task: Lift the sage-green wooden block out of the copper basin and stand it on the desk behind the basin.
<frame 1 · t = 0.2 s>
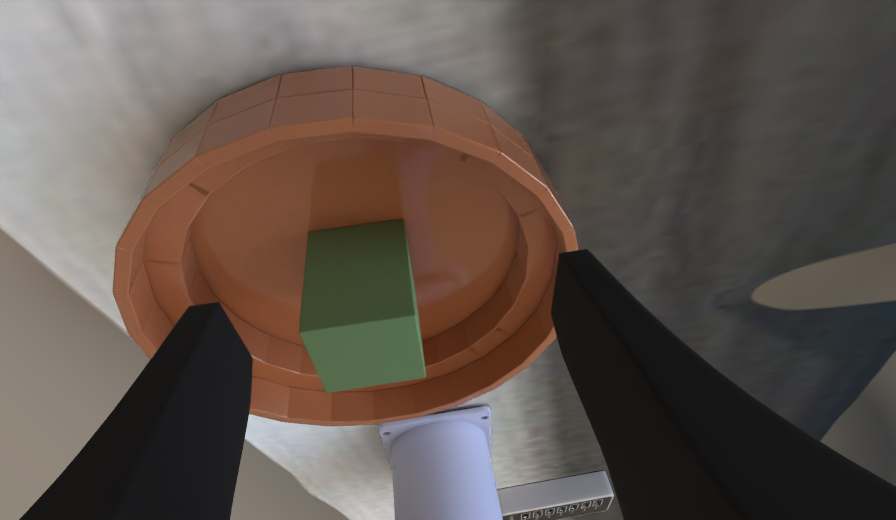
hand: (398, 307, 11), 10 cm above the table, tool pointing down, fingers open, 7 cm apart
multiport hub: (548, 486, 49), on the table
basin: (364, 252, 23), on the table
green block: (364, 258, 23), resting on basin
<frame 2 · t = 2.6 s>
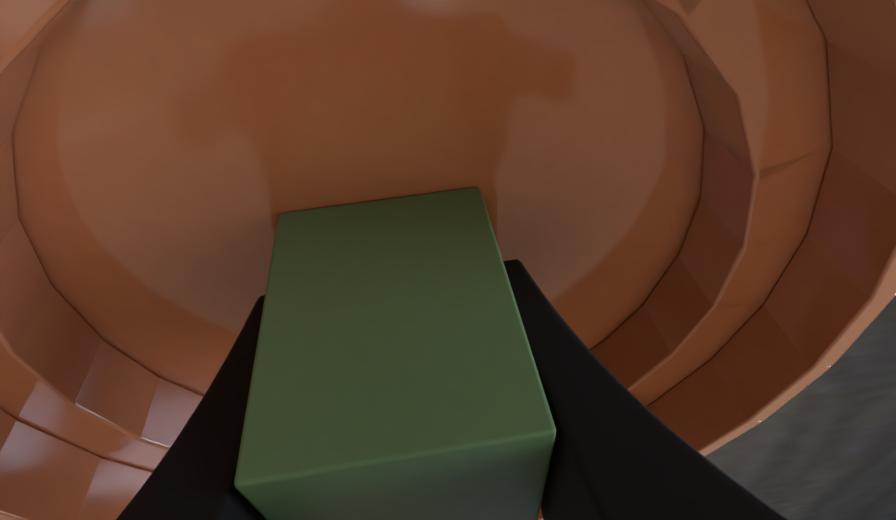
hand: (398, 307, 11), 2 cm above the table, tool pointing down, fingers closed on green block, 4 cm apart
basin: (394, 256, 12), on the table
green block: (393, 268, 12), resting on basin, touching gripper
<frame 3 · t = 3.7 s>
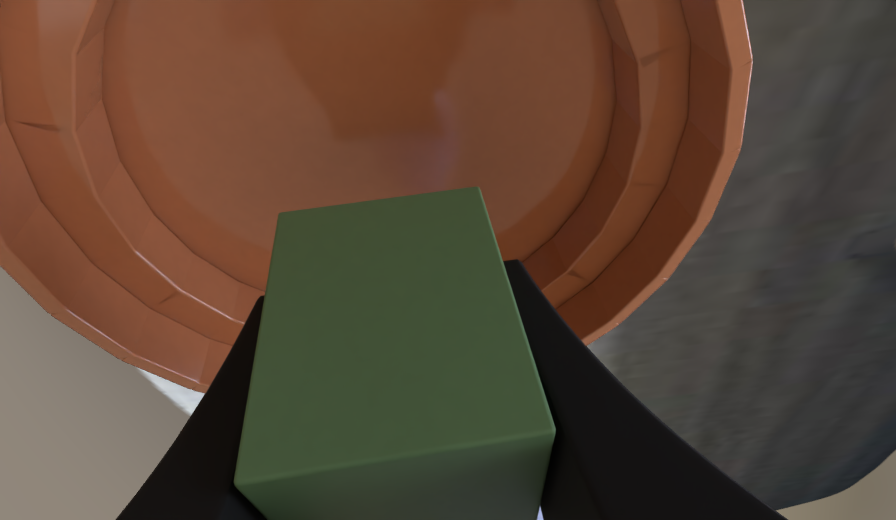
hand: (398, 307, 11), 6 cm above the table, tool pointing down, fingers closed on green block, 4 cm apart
basin: (380, 149, 15), on the table
green block: (393, 268, 12), point 5 cm above the table, touching gripper
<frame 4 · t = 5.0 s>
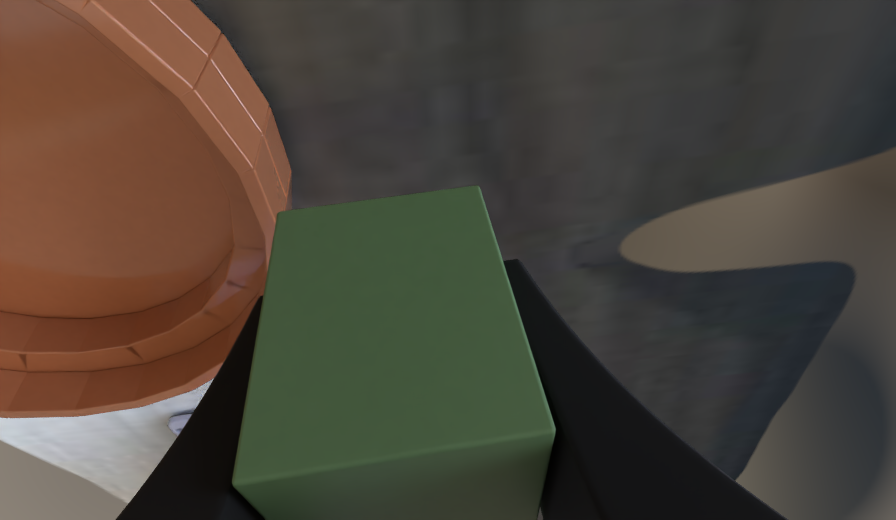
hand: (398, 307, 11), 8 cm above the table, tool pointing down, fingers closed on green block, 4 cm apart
basin: (3, 165, 16), on the table
green block: (393, 267, 12), point 7 cm above the table, touching gripper
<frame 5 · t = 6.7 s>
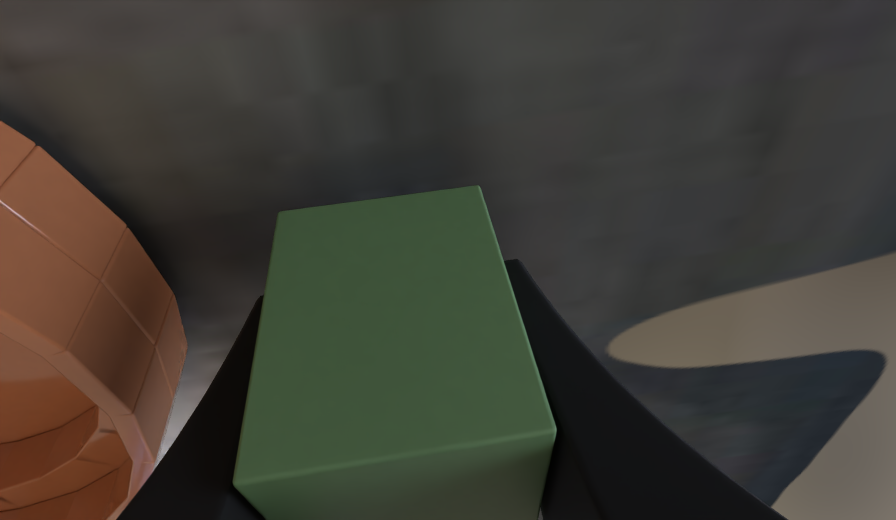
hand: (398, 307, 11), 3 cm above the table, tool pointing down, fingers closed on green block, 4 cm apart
green block: (393, 267, 12), point 2 cm above the table, touching gripper
when the fingers open (1 cm above the table, at t = 7.8 s): green block stays where it is, on the table.
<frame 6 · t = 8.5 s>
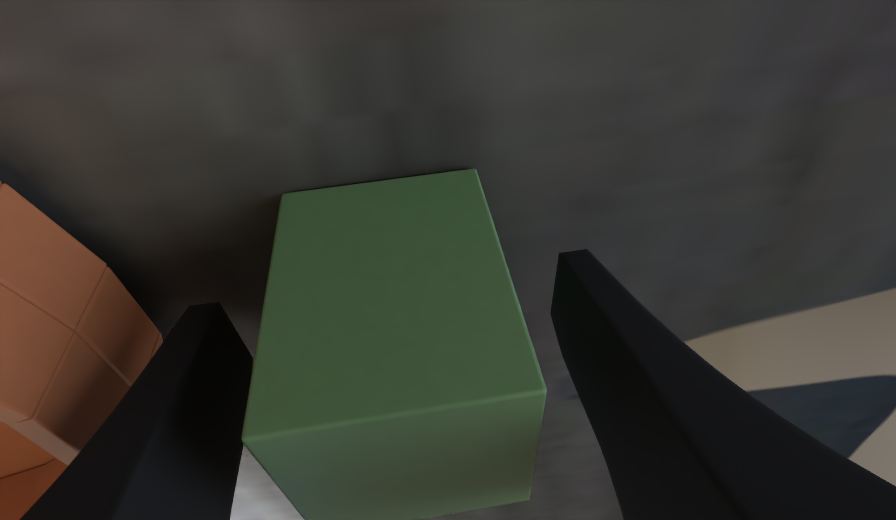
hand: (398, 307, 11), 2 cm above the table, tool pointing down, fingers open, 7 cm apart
green block: (393, 250, 12), on the table
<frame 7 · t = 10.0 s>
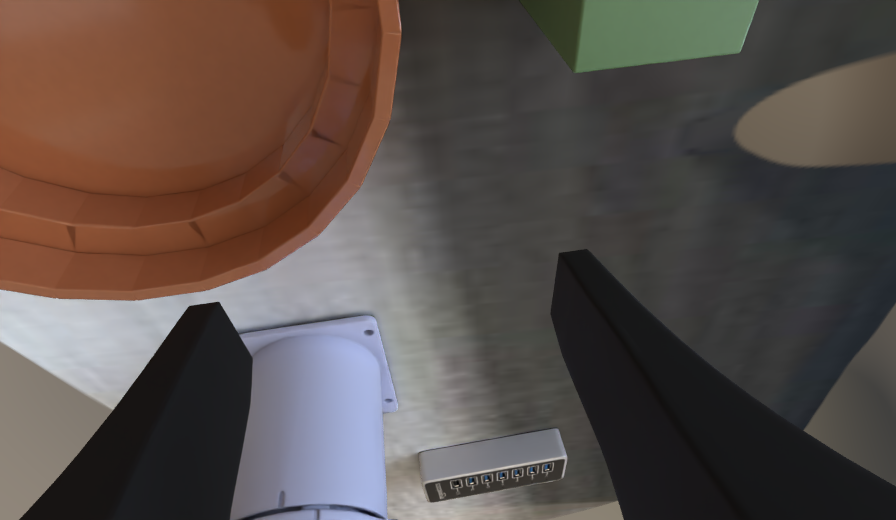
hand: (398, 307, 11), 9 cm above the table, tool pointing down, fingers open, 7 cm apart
multiport hub: (489, 449, 39), on the table
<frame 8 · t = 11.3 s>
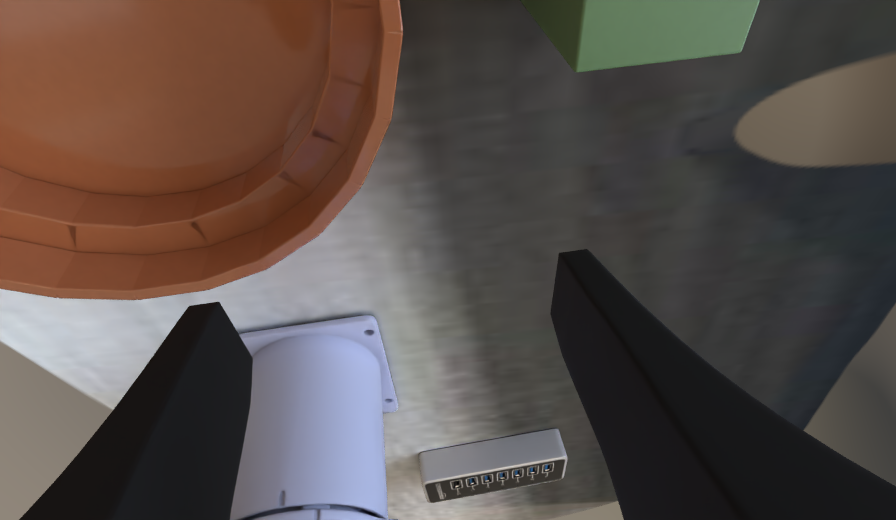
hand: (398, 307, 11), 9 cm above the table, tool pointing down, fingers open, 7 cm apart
multiport hub: (489, 449, 39), on the table
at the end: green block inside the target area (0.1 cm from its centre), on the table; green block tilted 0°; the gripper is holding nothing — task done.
